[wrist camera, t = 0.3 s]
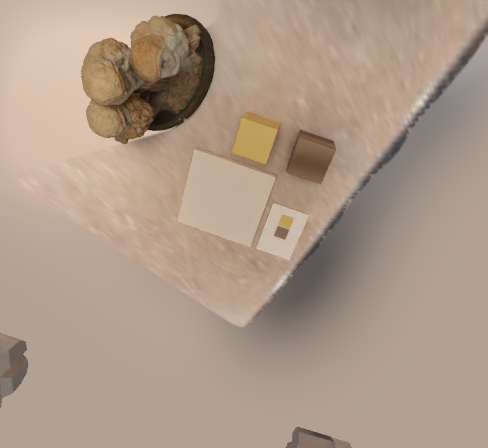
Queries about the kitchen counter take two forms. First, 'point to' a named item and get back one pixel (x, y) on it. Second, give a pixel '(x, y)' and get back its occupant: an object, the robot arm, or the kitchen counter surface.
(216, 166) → the plate
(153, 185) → the kitchen counter surface
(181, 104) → the three owls sculpture
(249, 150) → the mustard block
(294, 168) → the walnut block
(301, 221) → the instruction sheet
